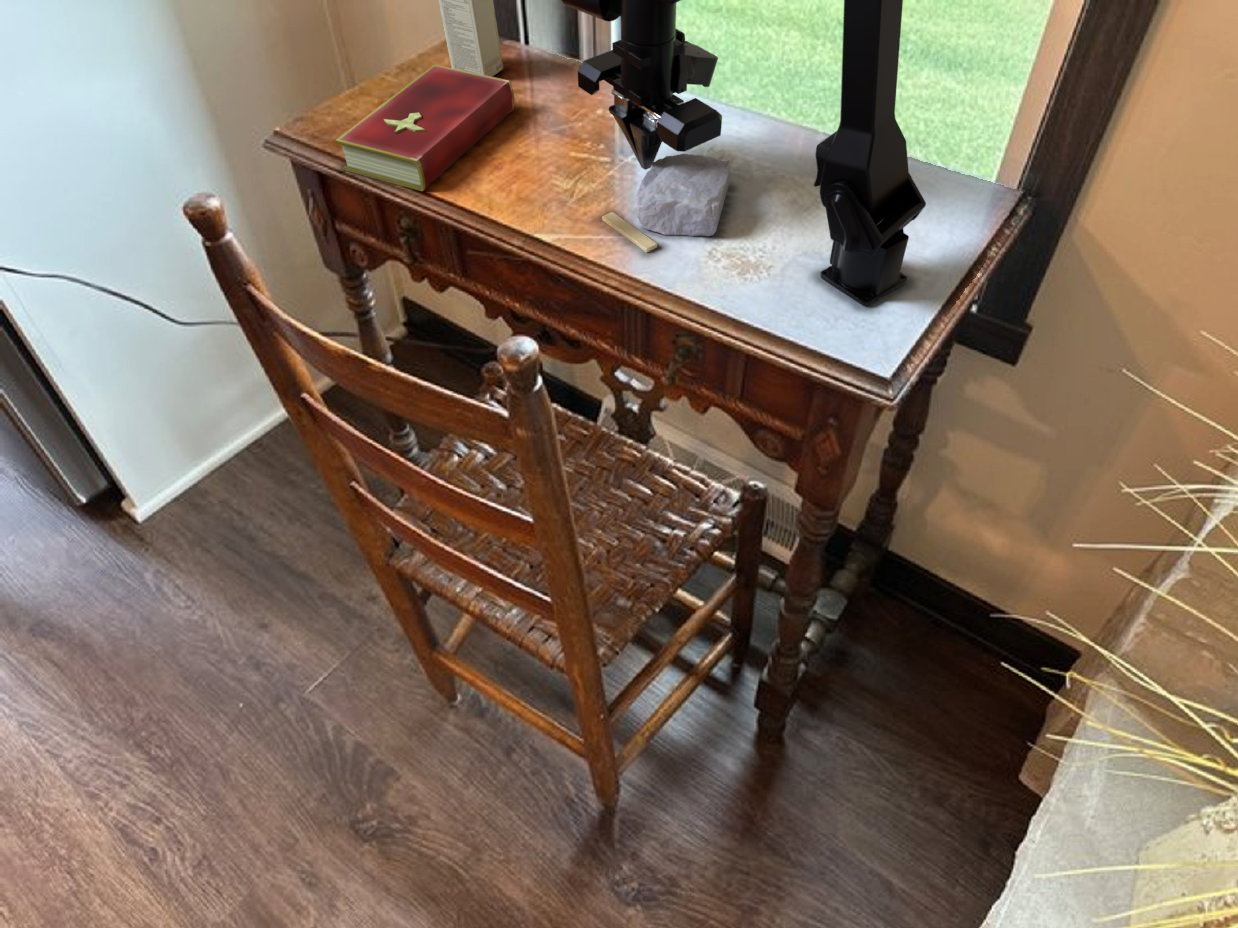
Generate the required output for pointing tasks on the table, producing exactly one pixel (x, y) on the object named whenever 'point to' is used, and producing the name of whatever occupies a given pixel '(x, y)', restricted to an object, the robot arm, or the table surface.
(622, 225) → the maple strip
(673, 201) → the stone block
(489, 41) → the cosmetic box
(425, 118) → the hardcover book
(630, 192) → the table surface
